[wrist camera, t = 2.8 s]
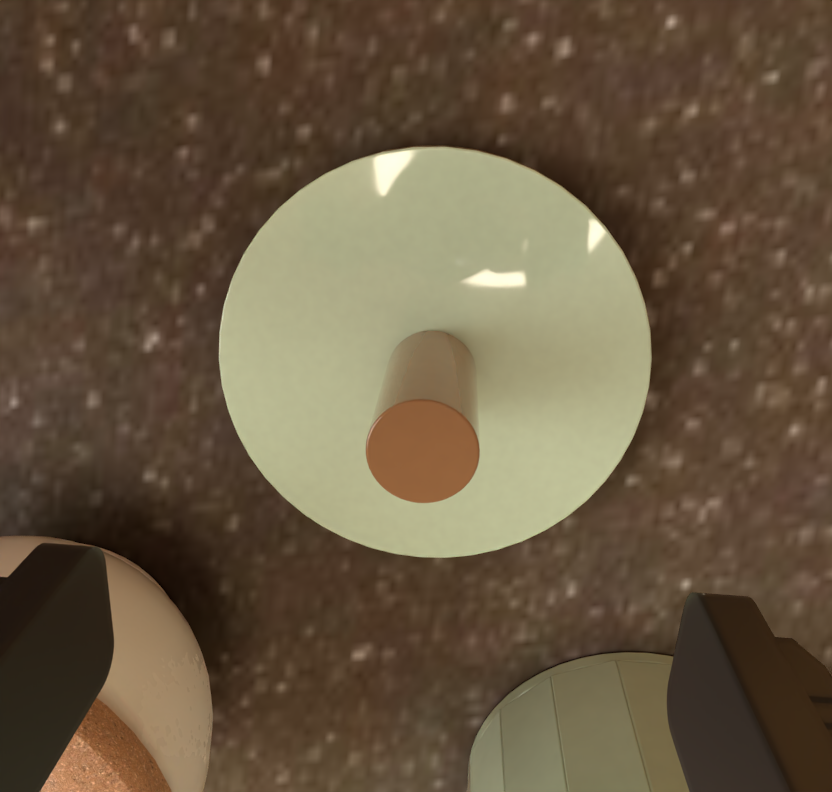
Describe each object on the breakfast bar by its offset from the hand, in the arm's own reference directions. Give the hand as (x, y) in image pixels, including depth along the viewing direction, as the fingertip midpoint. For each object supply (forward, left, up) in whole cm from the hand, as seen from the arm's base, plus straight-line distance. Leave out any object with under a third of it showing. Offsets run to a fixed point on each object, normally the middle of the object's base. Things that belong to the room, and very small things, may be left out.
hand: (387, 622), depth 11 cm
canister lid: (0, +1, -13) cm, 13 cm away
